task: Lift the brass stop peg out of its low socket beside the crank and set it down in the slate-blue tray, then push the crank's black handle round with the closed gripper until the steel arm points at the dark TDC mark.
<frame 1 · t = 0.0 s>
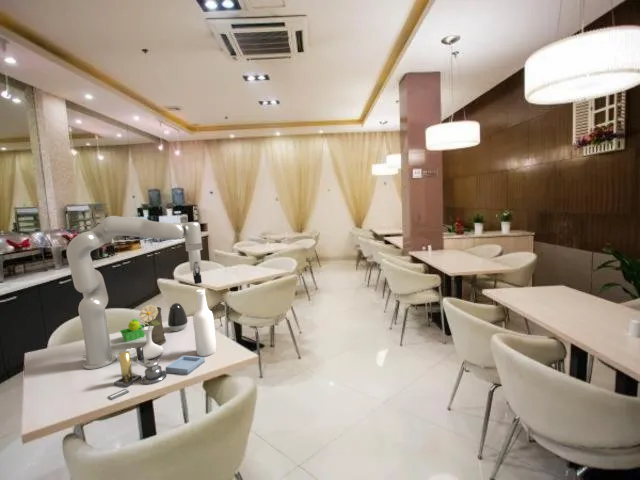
hand: (197, 281, 169), 31 cm above the table, tool pointing down, fingers open, 9 cm apart
stop peg: (128, 381, 137), resting in crank housing
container: (156, 343, 175), on the table
alcohol: (206, 353, 160), on the table
crank: (146, 357, 140), point 8 cm above the table, hinge at 0.0°
crank housing: (154, 378, 138), on the table
fruit basket: (134, 338, 184), on the table
tray: (185, 366, 146), on the table
flower in vase: (152, 356, 159), on the table
tdc mark: (118, 394, 127), on the table
black egg shape: (178, 329, 193), on the table
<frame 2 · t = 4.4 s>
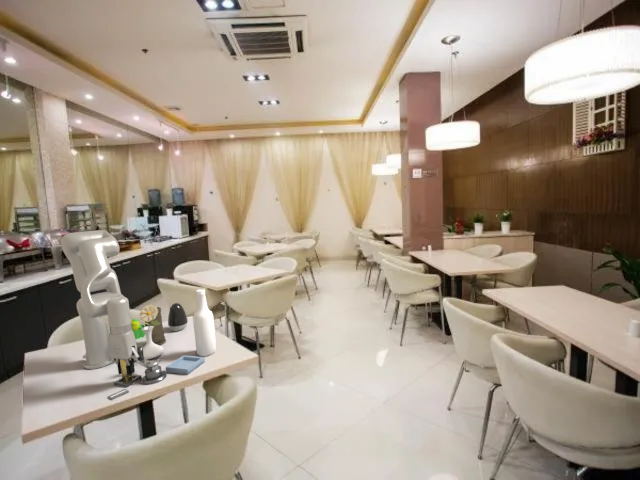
hand: (126, 372, 136), 4 cm above the table, tool pointing down, fingers closed on stop peg, 3 cm apart
stop peg: (128, 381, 137), resting in crank housing, touching gripper
everything else where it was.
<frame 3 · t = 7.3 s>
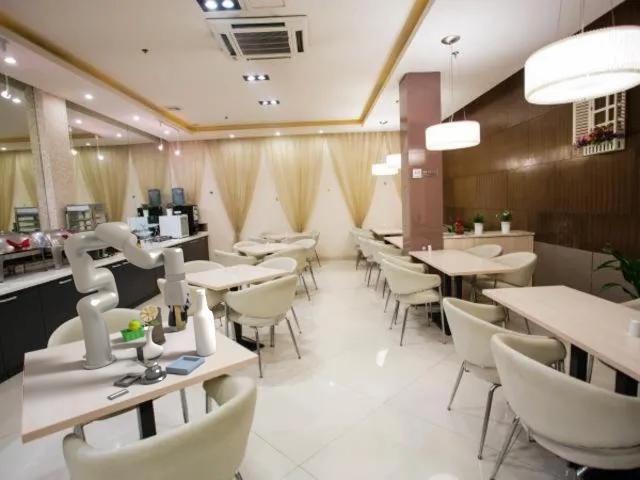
hand: (180, 319, 144), 21 cm above the table, tool pointing down, fingers closed on stop peg, 3 cm apart
stop peg: (181, 329, 144), point 17 cm above the table, touching gripper
everything else where it was.
when the fingers open (6 cm above the table, at t = 10.3 s): stop peg stays where it is, resting on tray.
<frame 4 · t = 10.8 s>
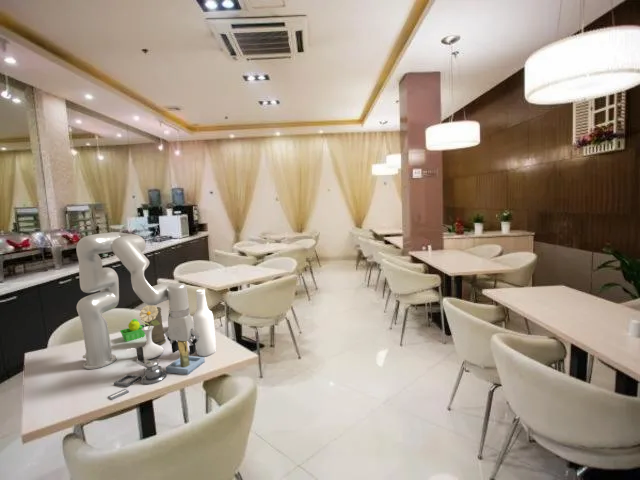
hand: (184, 352, 146), 7 cm above the table, tool pointing down, fingers open, 8 cm apart
stop peg: (185, 365, 146), point 1 cm above the table, touching tray
everything else where it was.
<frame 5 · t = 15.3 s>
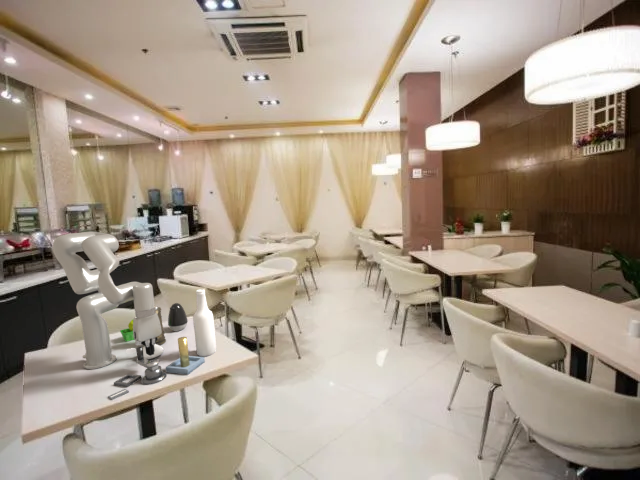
hand: (150, 354, 146), 7 cm above the table, tool pointing down, fingers closed
crank: (146, 357, 140), point 8 cm above the table, hinge at 0.2°, touching gripper
everything else where it was.
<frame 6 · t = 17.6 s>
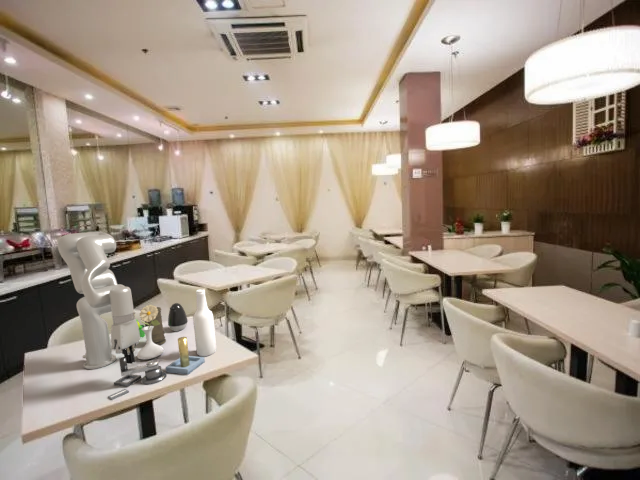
hand: (130, 362, 137), 7 cm above the table, tool pointing down, fingers closed
crank: (139, 363, 136), point 8 cm above the table, hinge at 58.8°, touching gripper
everything else where it was.
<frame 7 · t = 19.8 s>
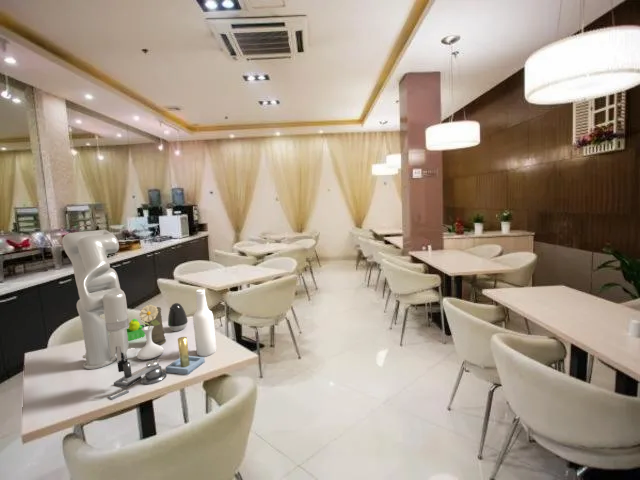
hand: (123, 370, 132), 7 cm above the table, tool pointing down, fingers closed
crank: (141, 365, 133), point 8 cm above the table, hinge at 97.3°
everything else where it was.
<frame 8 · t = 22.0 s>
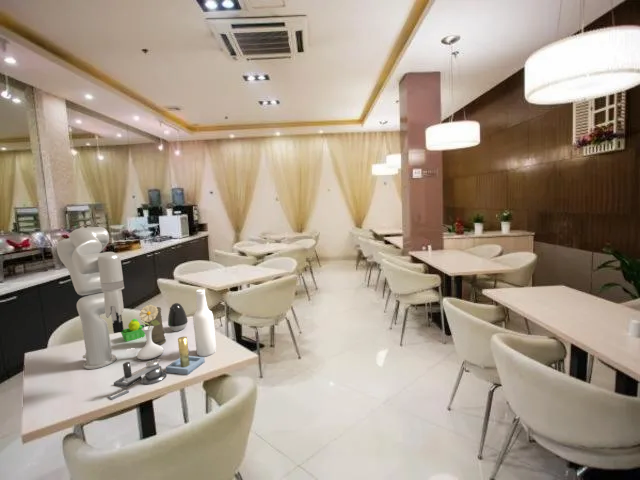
hand: (118, 331, 134), 21 cm above the table, tool pointing down, fingers closed
nothing on the table moved.
at the end: stop peg inside the target area on the tray (0.1 cm from its centre), point 0.8 cm above the tray's base; crank at +97° (first picture: +0°) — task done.
